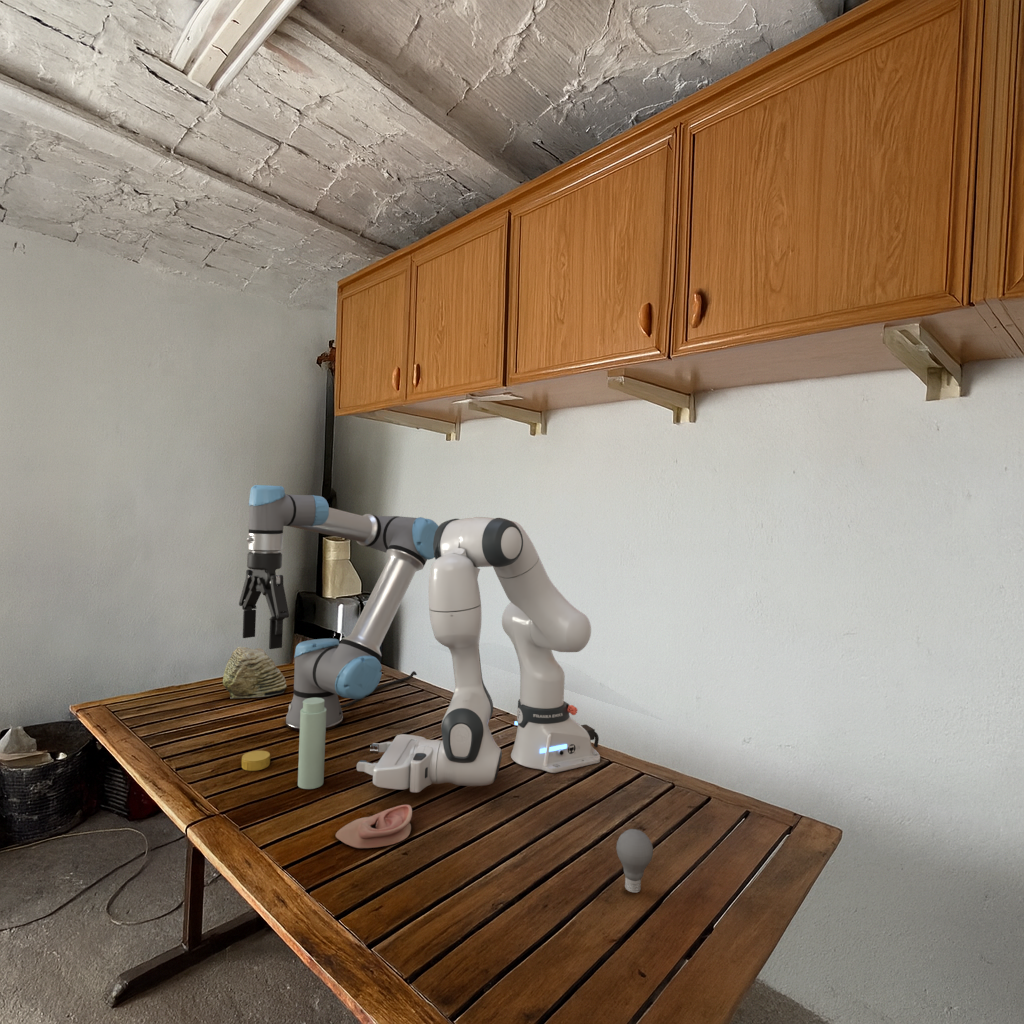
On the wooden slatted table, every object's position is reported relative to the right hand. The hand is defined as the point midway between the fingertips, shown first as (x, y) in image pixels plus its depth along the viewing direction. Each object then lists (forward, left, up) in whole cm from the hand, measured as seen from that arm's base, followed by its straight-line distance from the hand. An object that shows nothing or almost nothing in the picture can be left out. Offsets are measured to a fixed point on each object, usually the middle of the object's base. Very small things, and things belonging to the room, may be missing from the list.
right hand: (364, 756), depth 139 cm
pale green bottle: (+11, -5, -7) cm, 14 cm away
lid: (+22, -18, -5) cm, 29 cm away
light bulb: (-38, +50, -7) cm, 63 cm away
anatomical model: (0, +20, -7) cm, 21 cm away
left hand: (+22, -18, +22) cm, 36 cm away
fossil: (+24, -72, -7) cm, 76 cm away
